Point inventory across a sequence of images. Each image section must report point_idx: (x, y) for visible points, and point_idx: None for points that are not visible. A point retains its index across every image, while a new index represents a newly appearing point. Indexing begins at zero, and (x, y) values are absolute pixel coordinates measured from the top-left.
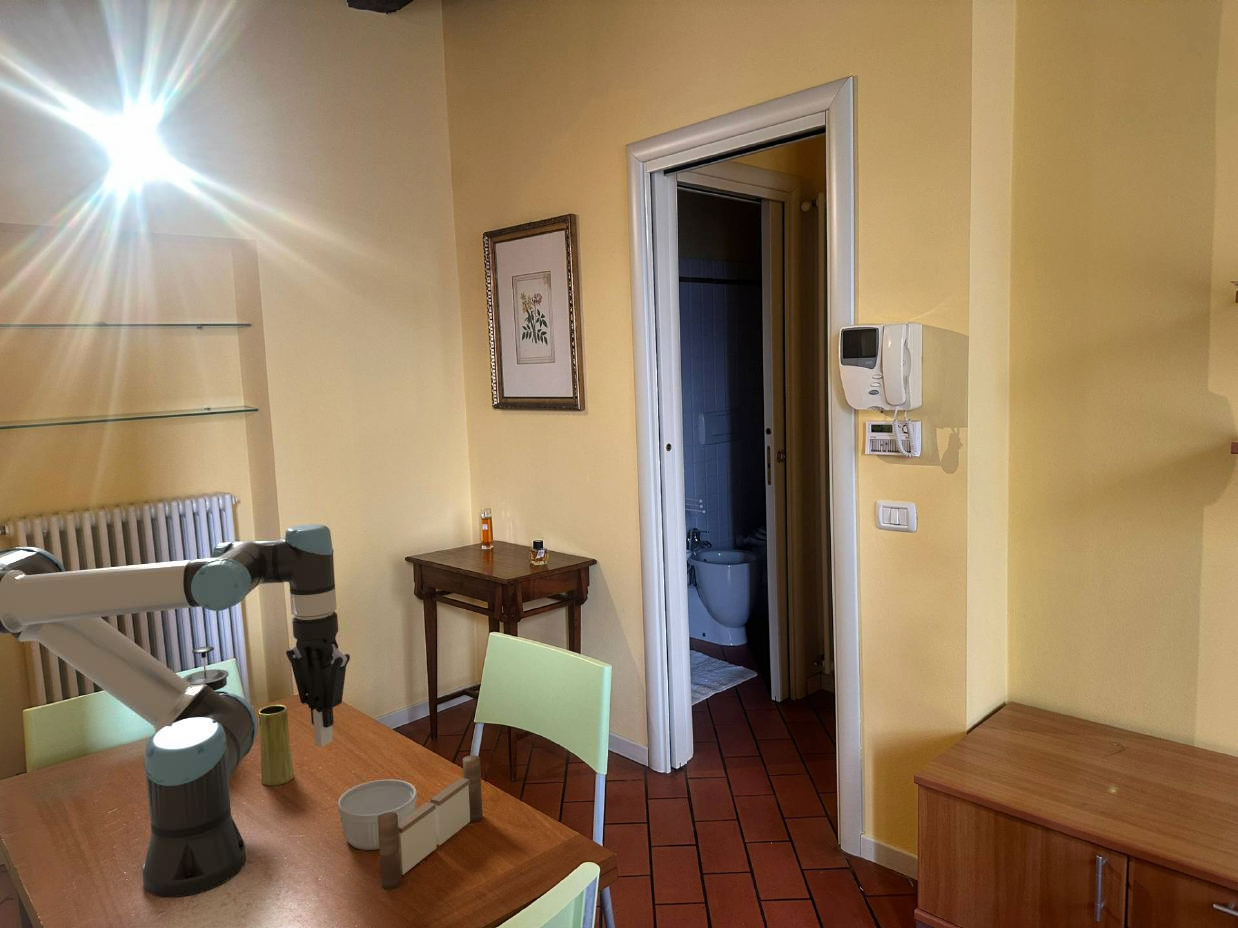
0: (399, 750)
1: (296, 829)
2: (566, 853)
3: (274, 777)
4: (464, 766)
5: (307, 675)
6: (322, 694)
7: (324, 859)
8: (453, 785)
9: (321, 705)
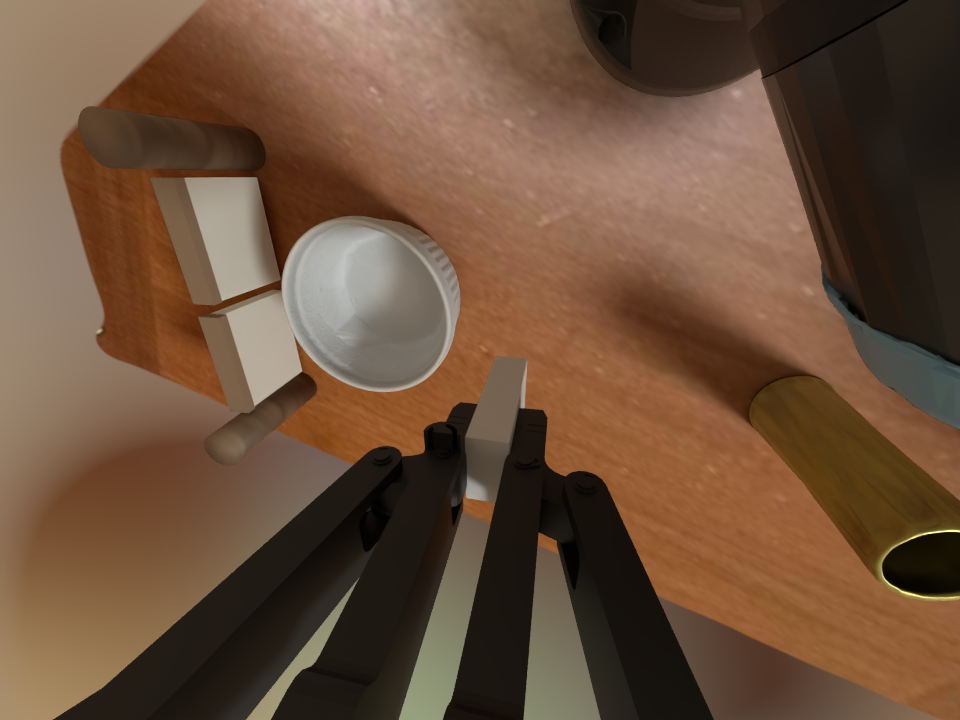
0: None
1: (575, 236)
2: (133, 340)
3: (787, 392)
4: (229, 431)
5: (508, 663)
6: (402, 507)
7: (423, 160)
8: (232, 381)
9: (439, 458)
